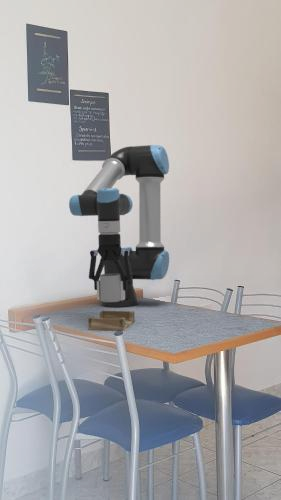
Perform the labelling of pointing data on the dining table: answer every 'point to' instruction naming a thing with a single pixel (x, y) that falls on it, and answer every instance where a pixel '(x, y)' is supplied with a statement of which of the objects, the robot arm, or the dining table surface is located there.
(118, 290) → the cup
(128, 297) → the robot arm
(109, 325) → the caddy
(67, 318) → the dining table surface
